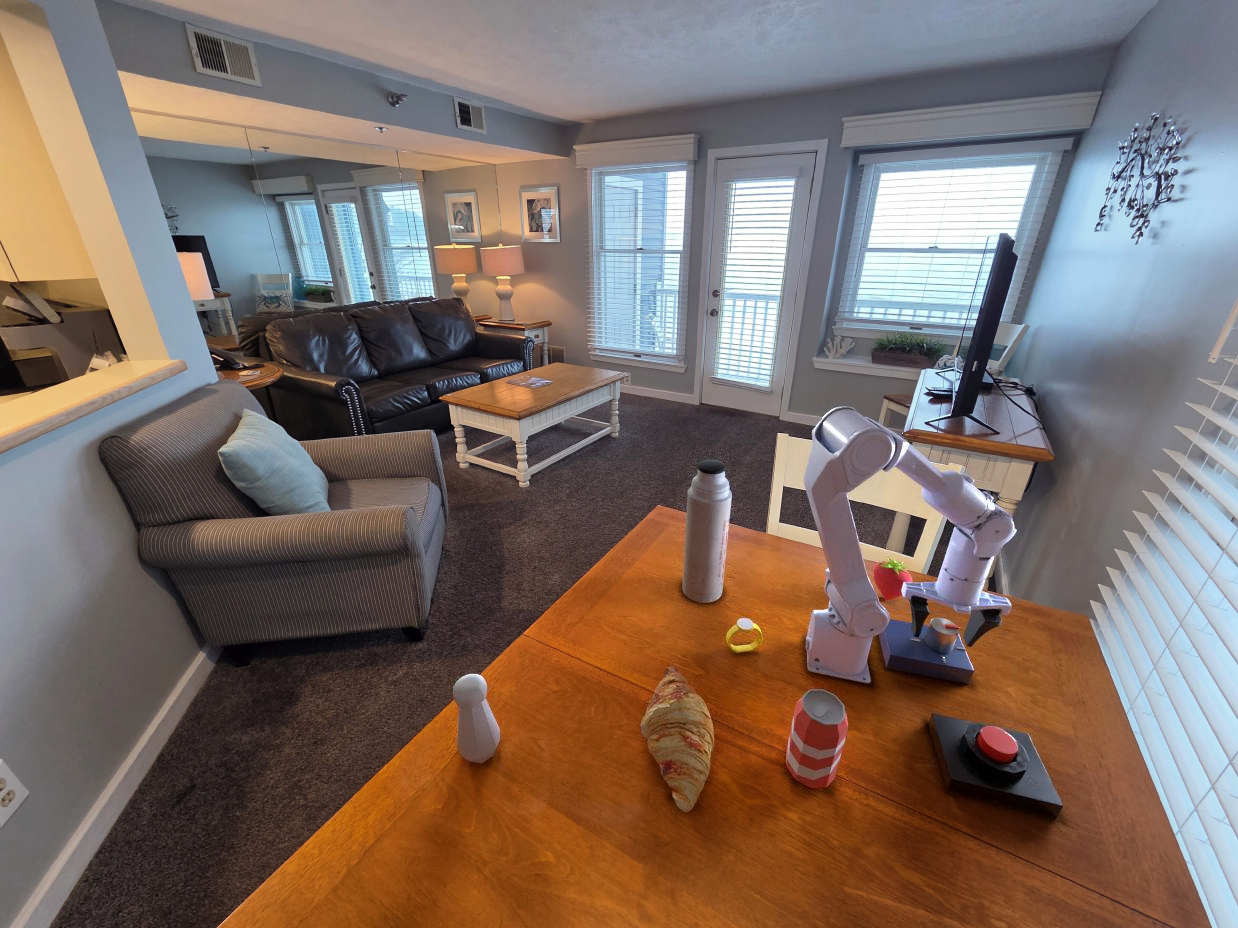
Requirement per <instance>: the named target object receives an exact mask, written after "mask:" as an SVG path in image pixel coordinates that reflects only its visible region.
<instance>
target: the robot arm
mask: <svg viewBox="0 0 1238 928" xmlns="http://www.w3.org/2000/svg"><path fill="white" fill-rule="evenodd" d="M811 440H812V446H811V448H810V449H811V450H810V452H809V457H808V460H807V464H806V468H805V472H804V475H803V485H804V488H805V492H806V495H807V498H808V502H809V506H810V509H811V513H812V516H813V521H814V523H815V526H816V530H817V533H818V536H819V540H820V544H821V547H822V550H823V553H824V557H825V562H826V564H827V568H826V569H825V570H824V572H825V575H826V578H825V579H826V580H825V582H824V592H825V595H826V596H827V597H828V604H827V605H828V608H826V609H813V610H812V612H811V615H810V619H809V624H808V629H807V635H806V637H805V650H806V665H807V667H806V668H807V671H808V672H810V673H816V674H819V675H825V676H830V677H834V678H839V679H843V680H848V681H854V682H859V683H863V684H871V681H872V679H871V674H870V670H869V664H868V658H869V654H870V650H871V646H872V643H873V639H874V637H876V636H879V634H880V633H881V632H882V631H883V630H884V629H885V628H886V627H887V626H888V624H889V621H890V619H891V615H890V613H889V611H888V609H886V607H885V606H883V604H882V603H881V602H880V599H879V596H878V594H877V592H876V590H875V588H874V585H873V584H872V583H871V580H870V579H869V576H868V572H867V568H866V565H865V560H864V557H863V552H862V548H861V544H860V540H859V536H858V533H857V528H856V525H855V521H854V517H853V513H852V508H851V504H850V501H849V497H848V493H851V492H852V491H854V490H855V489H857V488H858V487H859V486H861V485H862V484H863V483H865V482H866V481H868V480H869V479H870V478H872V477H873V476H875V475H876V474H878V473H879V472H881V470H882V471H884V472H885V473H888V472H891V470H892V469H894V468H896V469H898V470H899V471H900V472H902V473H903V474H905V476H907V477H908V478H909V479H911V480H912V481H913V482H915V483H917V484H918V485H919V486H920V487H922V488H921V496H922V499H923V501H924V502H925V503H926V504H928V505H929V506H930V507H931V508H933V509H934V510H935V511H936V512H938V514H940V515H941V516H943V517H944V518H945V519H946V520H948V521H949V522H950V523H952V524H953V525H955V526H954V528H953V531H952V533H951V537H950V540H949V543H948V546H947V549H946V553H945V555H944V559H943V561H942V565H941V567H940V571H939V574H938V577H937V579H936V581H924V582H921V581H920V582H912V583H909V582H904V583H903V587H902V590H901V592H902V595H903V596H902V598H903V599H905V600H908V601H909V606H910V612H911V623H912V628H911V629H912V632H913V636H914V637H918V638H919V636H920V634H921V631H922V627H923V625H925V624H924V623H925V622H926V620H927V618H928V617H929V615H930V614H931V612H930V610H929V607H928V606H929V603H928V601H931V602H935V603H938V604H939V605H943V606H946V607H949V608H952V609H953V611H954V612H955V613H959V614H965V615H969V618H968V621H967V624H966V626H965V629H964V630H963V631H964V632H963V636H962V638H963V641H964V643H965V645H966V647H968V648H972V647H973V646H974V645H975V644H976V643H977V641H979V639H980V638H982V637H983V636H984V635H985V634H987V633H988V632H990V631H992V630H993V629H996V628H998V627H1000V626H1001V624H1002V621H1003V620H1002V617H1001V616H1009V615H1010V612H1011V609H1012V607H1013V606H1012V604H1011V602H1010V600H1009V599H1008V597H1005V596H1000V595H995V594H992V593H989V592H986V591H984V590H983V588H984V585H985V582H986V580H987V577H988V574H989V572H990V569H991V566H992V564H993V561H994V558H995V557H997V556H998V554H1000V553H1001V550H1002V548H1003V546H1005V544H1007V543H1008V542H1009V541H1010V540H1012V538H1013V537H1014V536H1015V534H1016V533H1017V529H1016V528H1015V524H1014V521H1013V520H1014V518H1013V516H1012V515H1011V514H1010V513H1009V512H1007V511H1006V510H1004V509H1003V508H1002V507H1000V506H999V505H997V504H996V503H994V502H993V500H994V497H993V496H992V494H990V493H989V492H987V491H981V490H979V489H978V488H977V487H976V486H975V485H973V484H974V482H975V479H974V478H973V477H971V476H970V475H969V474H967V473H966V472H964V471H962V472H961V473H959V472H958V471H955V470H949V469H947V470H946V469H945V470H940V469H939V468H938V467H936V465H934V463H933V462H931V460H929V459H928V458H926V456H924V454H922V453H921V452H920V451H919V450H918V449H917V448H915V446H913V445H912V444H911V443H910V442H908V441H907V440H906V439H904V438H903V437H901V436H900V435H898V433H896V432H894V431H893V430H890V429H889V428H888V427H886V426H884V425H883V424H881V423H879V422H877V421H876V420H873V419H872V418H870V417H868V416H863V415H862V413H860V412H859V411H858V410H857V409H856V408H854V407H852V406H844V405H841V406H837V407H834V408H832V409H831V410H829V411H828V412H826V413H825V414H824V416H822V418H820V420H819V421H818V422H817V424H816V425H815V426H814V427H813V429H812V431H811ZM1000 615H1001V616H1000Z"/></svg>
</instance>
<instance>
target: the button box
mask: <svg viewBox="0 0 1238 928" xmlns="http://www.w3.org/2000/svg"><path fill="white" fill-rule="evenodd" d="M928 719H929V720H928V722H927V725H928V728H929V732H930V735H931V738H932V741H933V742H932V743H933V746H934V749H935V752H936V756H937V759H938V763H939V767H940V769H941V773H942V776H943V780H944V783H945V786H946V789H947V790H948V791H953V792H956V793H959V794H963V795H968V796H972V797H976V798H980V799H984V800H988V801H992V802H995V803H1000V804H1004V805H1007V806H1012V807H1016V808H1020V809H1023V810H1028V811H1031V812H1036V813H1040V814H1044V815H1049V816H1050V817H1051V816H1052V817H1056V818H1057V817H1058V816H1059V814H1060V813H1061V811H1062V809H1063V808H1064V804H1063V803H1062V802H1063V801H1061V798H1060V796H1059V794H1058V791H1057V790H1056V788H1055V786H1054V783H1053V782H1052V780H1051V777H1050V775H1049V774H1048V771H1047V770H1046V767H1045V765H1044V763H1043V761H1042V759H1041V757H1040V755H1039V753H1038V751H1037V749H1036V747H1035V744H1034V742H1033V741H1032V739H1031V738H1032V737H1031V736H1030V735H1029V733H1025V732H1020V731H1017V730H1011V729H1006V728H1003V727H998V726H995V725H993V724H988V723H984V722H974V721H969V720H965V719H960V718H957V717H951V716H946V715H942V714H938V713H933V712H931V713H930V717H929V718H928ZM986 726H992V727H996V728H999V729H1001V730H1003V731H1005V732H1006V733H1008V734H1009V735H1010V736H1011V737H1012V738H1013V739H1014V740H1015V741H1016V743H1017V746H1018V751H1017V753H1016V755H1015V757H1014V759H1013V760H1012V761H1011V762H1008V763H1002V762H998V761H996V760H994V759H992V758H991V757H989V756H987V755H986V754H985V753H984V752H983V751H982V750H981V749H980V748H979V746H978V743H977V739H978V736H979V734H980V732H981V729H982V728H984V727H986Z"/></svg>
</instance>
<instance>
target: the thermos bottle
mask: <svg viewBox="0 0 1238 928" xmlns="http://www.w3.org/2000/svg"><path fill="white" fill-rule="evenodd" d="M696 467H697V475H695V476H693V478H692V481H691V484H690V485H691V486H690V487H689V488H688V489H687V498H686V499H687V500H686V516H685V517H686V518H685V533H684V534H685V535H684V558H683V566H682V567H683V568H682V584H681V585H682V586H681V587H682V592H683V594H684V595H685V596H686V597H687V598H688V599H690V600H692V601H694V602H697V603H701V604H702V603H703V604H705V603H713V602H715V601H717V600H719V599H720V598H721V596H722V595H723V588H724V580H725V579H724V578H725V577H724V576H725V568H726V559H727V558H726V557H727V549H728V548H727V547H728V538H729V528H730V527H729V526H730V519H731V510H732V509H731V508H732V507H731V506H732V497H733V495H732V491H731V490H730V488H731V487H730V482H729V480H728V479H727V478H726V464H725V463H724V462H722V461H720V460H718V459H703V460H701V461H699V462H698V463H697V466H696Z"/></svg>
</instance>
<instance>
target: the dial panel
mask: <svg viewBox="0 0 1238 928" xmlns="http://www.w3.org/2000/svg"><path fill="white" fill-rule="evenodd" d="M928 627H929V625H927V624H923V627H922V631H921V634H920V636H919V638H918V637H914V636H913V632H912V629H911V628H912V622H910V621H904V620H898V619H893V618H890V621H889V624H888V626H887V627H886V628H885V629H884V630H883V631H882V632H881V633H880V634H878V638H879V642H880V647H881V652H882V655H883V659H884V660H883V661H884V664H885V667H886V669H891V670H895V671H901V672H906V673H911V674H915V675H921V676H924V677H925V676H926V677H930V678H931V677H932V678H935V679H942V680H946V681H951V682H954V683H959V684H966V685H970V682H971V681H972V678H973V675H974V672H975V668H974V667H973V665H972V663H971V661H970V658H969V655H968V653H967V651H968V650H967V648H965V645H964V643H963V642H962V640H961V636H960V633H958V635H957V638H956V641H955V644H954V646H953V649H952V651H951V652H950V653H939V652H936V651H934V650H932V649H931V648H929V647H928V646H927V645H926V643H925V636H926V633H927V630H928Z"/></svg>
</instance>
